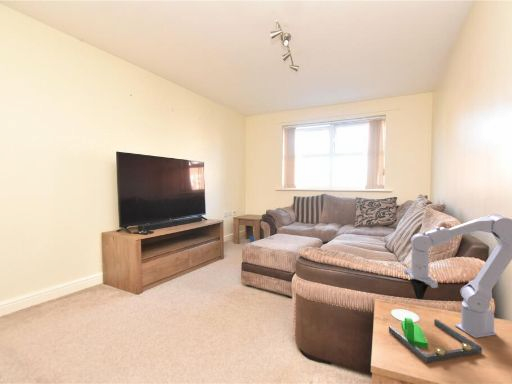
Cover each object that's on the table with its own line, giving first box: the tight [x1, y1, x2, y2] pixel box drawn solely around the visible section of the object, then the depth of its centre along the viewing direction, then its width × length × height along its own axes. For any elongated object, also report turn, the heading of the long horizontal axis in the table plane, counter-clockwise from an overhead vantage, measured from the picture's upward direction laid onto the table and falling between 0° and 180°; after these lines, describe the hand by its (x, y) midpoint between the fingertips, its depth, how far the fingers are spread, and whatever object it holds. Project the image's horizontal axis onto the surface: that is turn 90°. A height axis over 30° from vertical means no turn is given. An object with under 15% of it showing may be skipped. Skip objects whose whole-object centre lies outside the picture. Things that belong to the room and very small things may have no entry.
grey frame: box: [388, 318, 483, 364], centre depth 90 cm, size 21×18×3 cm
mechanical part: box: [400, 317, 429, 349], centre depth 94 cm, size 12×6×8 cm, turn 159°
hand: (419, 297), depth 103 cm, fingers closed
